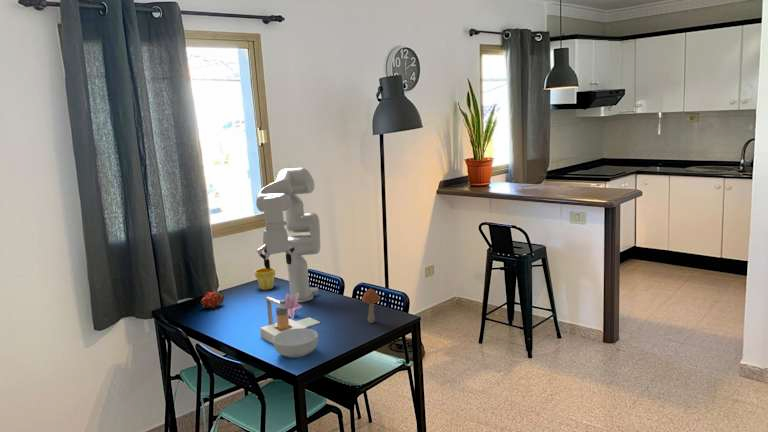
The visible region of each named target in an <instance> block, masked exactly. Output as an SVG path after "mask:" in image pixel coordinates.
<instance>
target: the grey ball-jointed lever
mask: <svg viewBox="0 0 768 432" xmlns="http://www.w3.org/2000/svg"><path fill="white" fill-rule="evenodd" d="M264 299H265V301H266V302H267V301H270V302H271V303H273V304H275V305H276V304H277V305H279V306H281V307H283V306H285V301H286V300H284V299H281V300H279V299H276V298H274V297H272V296H271V295H268V296H265V297H264ZM277 305H276V306H277Z"/></svg>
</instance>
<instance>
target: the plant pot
mask: <svg viewBox="0 0 768 432" xmlns="http://www.w3.org/2000/svg"><path fill="white" fill-rule="evenodd" d="M254 275H255V278H256V280H257V283H258V286H259V289H260V290H263V291H267V290H270V289H273V288H274V283H275V281H274V280H275V276H276V270H275V268H274V267H270V269H267V268H265V267H262V268H257V269H256V270H255V271H254Z"/></svg>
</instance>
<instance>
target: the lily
mask: <svg viewBox="0 0 768 432" xmlns="http://www.w3.org/2000/svg"><path fill="white" fill-rule="evenodd" d="M298 296H299V293H296V294H295V295H293V296H292V297H290V294H289V293H286V294H285V300H284V301H285V306H283V307H287V310H288V317H289V318H290V319H292V320H294V318H295V313H297V311H296V310H298V309H301V308H302V307H303V305H301V304H300V303H299V302H298V303H297V299H298ZM275 305H276V307H277V308H279V307H281V306H279V305H277V304H275Z"/></svg>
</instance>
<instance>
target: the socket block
mask: <svg viewBox="0 0 768 432" xmlns="http://www.w3.org/2000/svg"><path fill="white" fill-rule="evenodd" d="M266 308H267V317H268V325H264V326H262V327H260V328H259V330H260V337H261V338H263V340H265V341H267V342H269V343H270V344H273V338H274V336H275V335H277V334H278V333H280V332H283V331H286V330H290V329H297V328H304V329H308V328H307V327H306V326H304V325H302V324H300V323H298V322H296V321H297V320H294V319H292V318H288V320H289V329H286V330H283V331H279V330H278V325H277V322H275V323H274V317H273V307H272V302H270V301H267V300H266ZM273 345H274V344H273Z"/></svg>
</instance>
